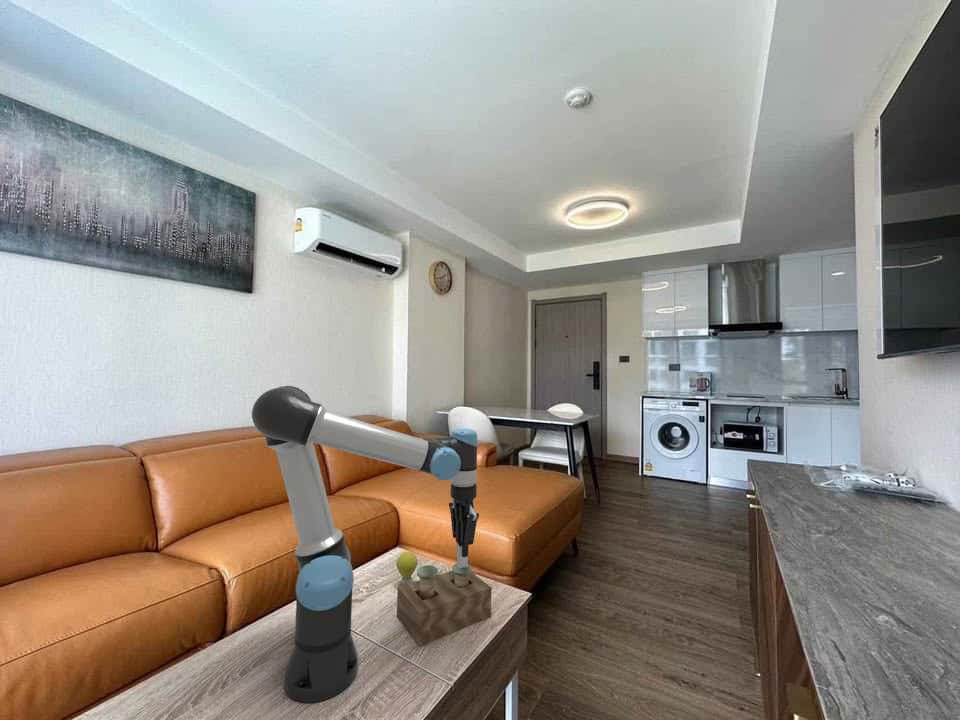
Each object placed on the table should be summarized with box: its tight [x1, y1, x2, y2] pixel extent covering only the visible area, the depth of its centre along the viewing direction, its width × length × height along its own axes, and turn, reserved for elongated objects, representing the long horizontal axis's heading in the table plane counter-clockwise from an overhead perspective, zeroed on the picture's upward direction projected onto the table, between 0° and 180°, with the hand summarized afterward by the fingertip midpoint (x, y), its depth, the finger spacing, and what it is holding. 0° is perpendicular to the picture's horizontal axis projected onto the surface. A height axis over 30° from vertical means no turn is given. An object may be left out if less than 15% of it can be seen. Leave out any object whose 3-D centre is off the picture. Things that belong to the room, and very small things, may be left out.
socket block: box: [396, 570, 492, 647], centre depth 109 cm, size 22×14×8 cm, turn 124°
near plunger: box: [416, 564, 439, 600], centre depth 106 cm, size 6×6×8 cm
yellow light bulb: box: [395, 551, 419, 586], centre depth 125 cm, size 7×7×10 cm
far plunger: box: [451, 563, 473, 588], centre depth 112 cm, size 6×6×8 cm
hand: (462, 566), depth 112 cm, fingers closed
